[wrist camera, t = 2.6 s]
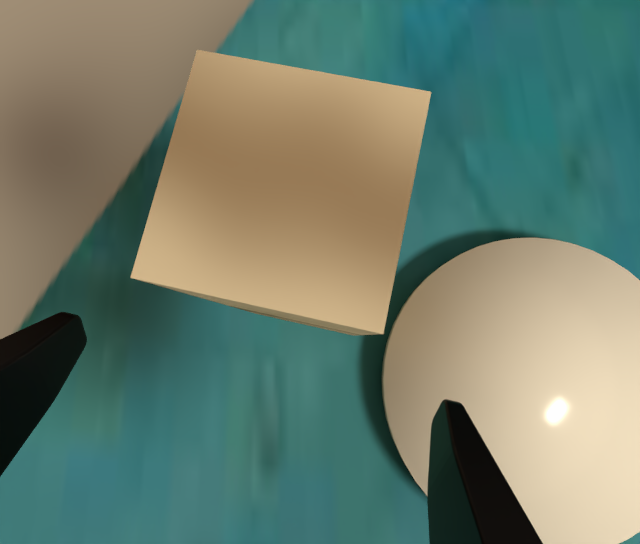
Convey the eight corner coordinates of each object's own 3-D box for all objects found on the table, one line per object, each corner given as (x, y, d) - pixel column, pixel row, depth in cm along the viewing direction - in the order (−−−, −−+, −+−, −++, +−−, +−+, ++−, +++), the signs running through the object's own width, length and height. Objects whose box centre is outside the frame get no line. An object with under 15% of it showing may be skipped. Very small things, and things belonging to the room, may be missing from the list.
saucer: (593, 610, 18) (611, 628, 17) (327, 429, 20) (326, 435, 19) (728, 340, 20) (753, 340, 19) (471, 193, 21) (479, 185, 20)
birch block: (353, 335, 20) (383, 334, 8) (256, 313, 21) (130, 277, 8) (373, 239, 21) (431, 91, 8) (279, 220, 22) (197, 49, 9)
